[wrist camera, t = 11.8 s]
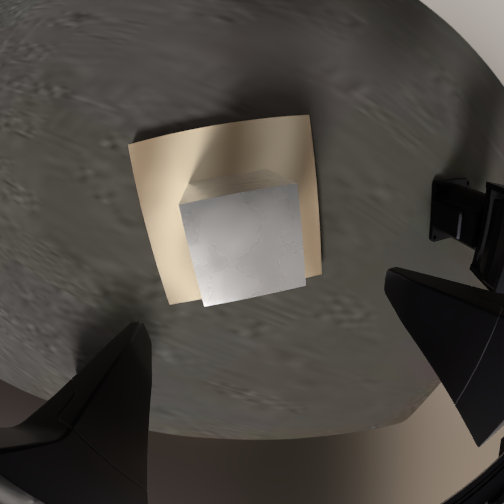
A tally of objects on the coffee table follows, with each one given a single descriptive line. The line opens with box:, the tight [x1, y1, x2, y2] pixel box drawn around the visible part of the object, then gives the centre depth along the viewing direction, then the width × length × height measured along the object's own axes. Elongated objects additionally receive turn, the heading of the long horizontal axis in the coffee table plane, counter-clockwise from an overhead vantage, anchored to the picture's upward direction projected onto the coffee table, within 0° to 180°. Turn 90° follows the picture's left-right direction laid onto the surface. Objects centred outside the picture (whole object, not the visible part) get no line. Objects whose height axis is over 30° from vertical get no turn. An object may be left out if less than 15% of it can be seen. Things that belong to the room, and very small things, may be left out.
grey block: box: [179, 169, 306, 307], centre depth 17 cm, size 6×6×7 cm
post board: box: [128, 115, 322, 304], centre depth 19 cm, size 13×13×5 cm
